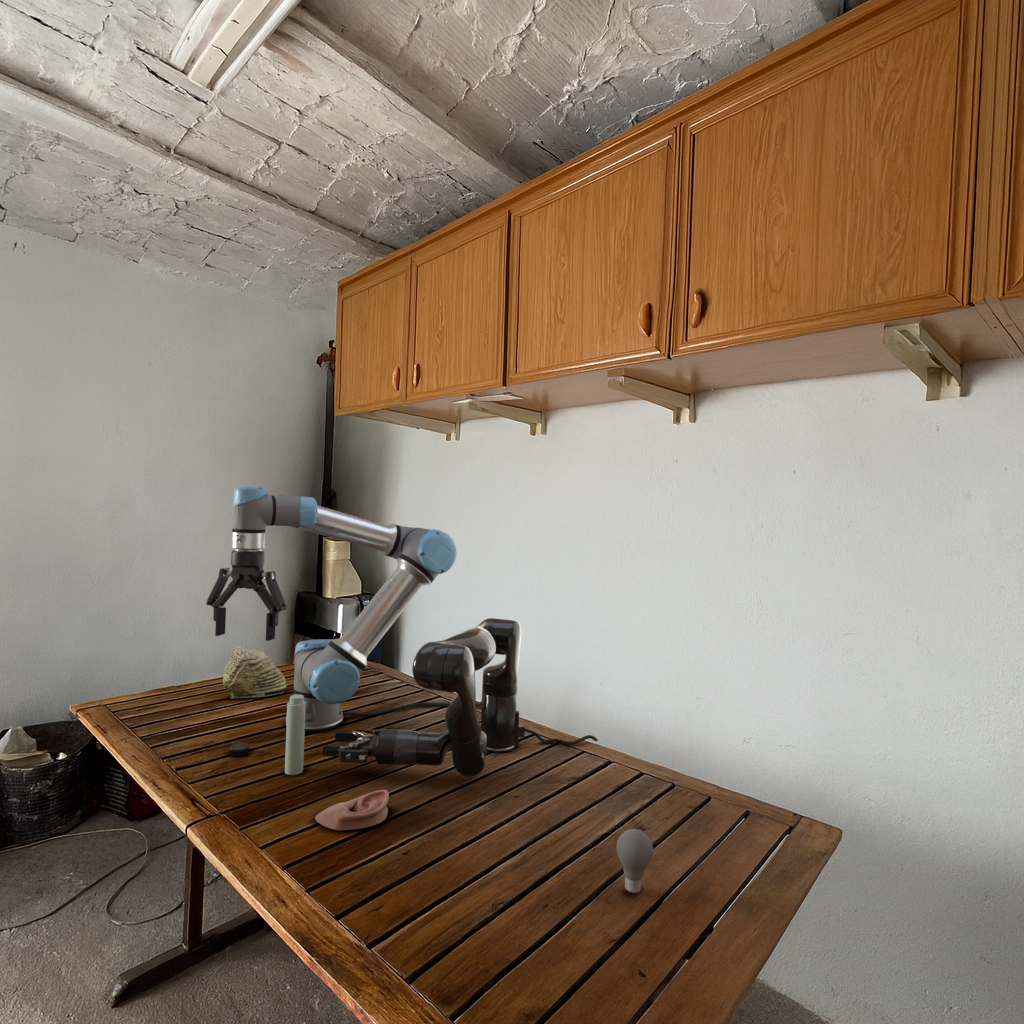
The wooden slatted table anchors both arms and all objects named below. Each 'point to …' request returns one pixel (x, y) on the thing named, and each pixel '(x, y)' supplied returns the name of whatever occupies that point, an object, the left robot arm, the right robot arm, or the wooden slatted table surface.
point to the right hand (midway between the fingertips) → (329, 743)
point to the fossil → (252, 674)
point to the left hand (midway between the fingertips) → (245, 637)
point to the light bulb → (634, 857)
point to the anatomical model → (356, 812)
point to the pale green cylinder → (295, 735)
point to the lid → (239, 750)
